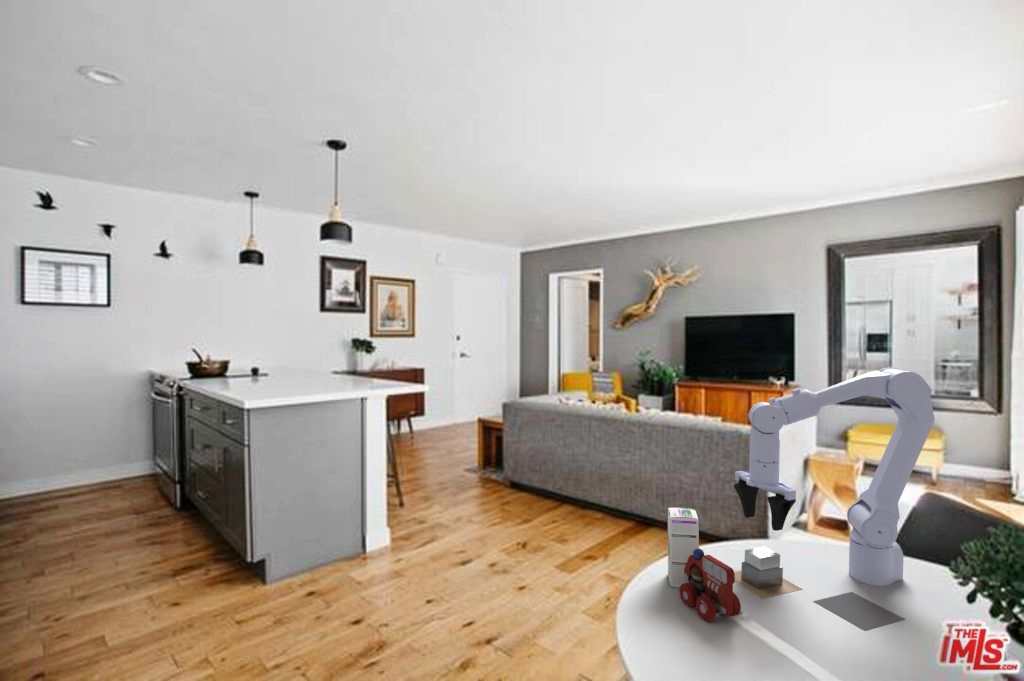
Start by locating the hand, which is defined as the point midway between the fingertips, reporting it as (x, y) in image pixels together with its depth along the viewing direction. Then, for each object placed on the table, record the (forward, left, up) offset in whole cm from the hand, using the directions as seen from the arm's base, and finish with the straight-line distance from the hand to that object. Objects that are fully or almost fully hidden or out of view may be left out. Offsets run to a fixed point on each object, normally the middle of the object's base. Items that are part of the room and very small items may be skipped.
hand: (763, 522), depth 114 cm
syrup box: (+19, -2, -11) cm, 22 cm away
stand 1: (+6, +6, -10) cm, 13 cm away
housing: (+6, +6, -9) cm, 12 cm away
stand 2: (-2, +20, -10) cm, 23 cm away
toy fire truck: (+21, +8, -11) cm, 25 cm away
